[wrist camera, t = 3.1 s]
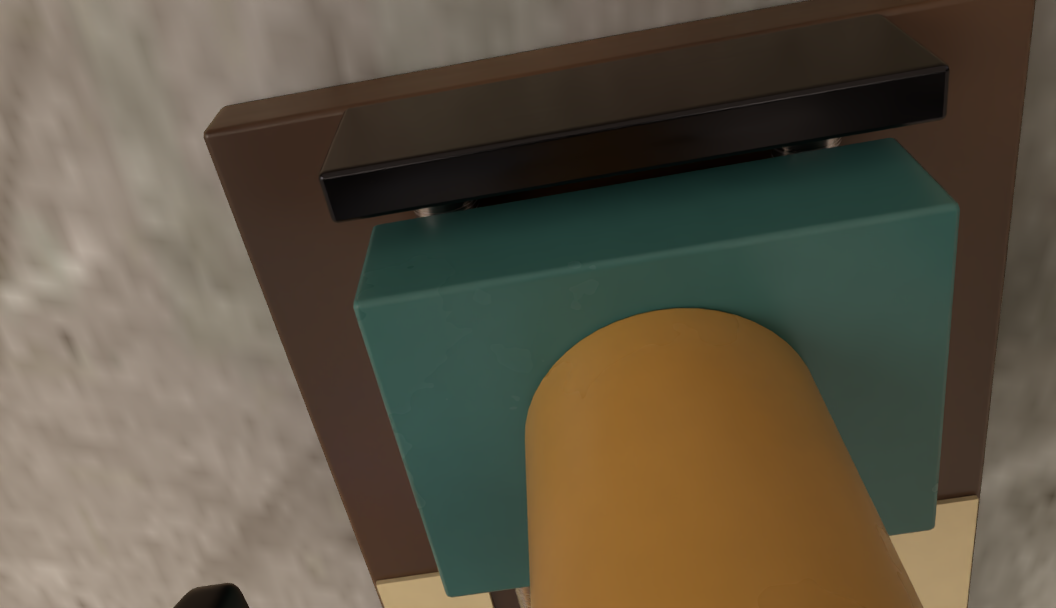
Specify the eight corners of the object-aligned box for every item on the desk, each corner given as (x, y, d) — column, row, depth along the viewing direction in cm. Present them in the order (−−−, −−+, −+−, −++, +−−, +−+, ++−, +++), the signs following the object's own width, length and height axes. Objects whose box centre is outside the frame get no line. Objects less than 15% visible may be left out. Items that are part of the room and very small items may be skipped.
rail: (1000, -37, 11) (1145, 30, 9) (936, 675, 19) (1005, 824, 16) (219, 104, 12) (145, 204, 10) (450, 739, 19) (443, 891, 17)
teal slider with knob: (895, 134, 10) (1488, 739, 4) (884, 434, 13) (1255, 1116, 6) (371, 222, 11) (195, 896, 5) (452, 498, 13) (408, 1195, 7)
